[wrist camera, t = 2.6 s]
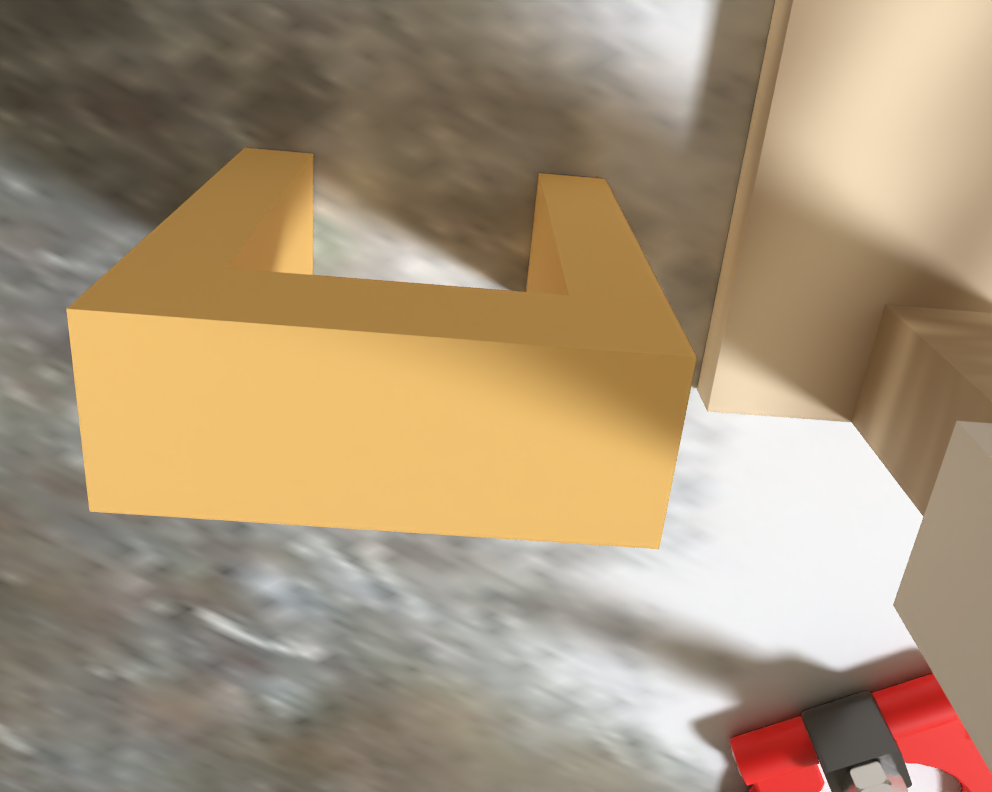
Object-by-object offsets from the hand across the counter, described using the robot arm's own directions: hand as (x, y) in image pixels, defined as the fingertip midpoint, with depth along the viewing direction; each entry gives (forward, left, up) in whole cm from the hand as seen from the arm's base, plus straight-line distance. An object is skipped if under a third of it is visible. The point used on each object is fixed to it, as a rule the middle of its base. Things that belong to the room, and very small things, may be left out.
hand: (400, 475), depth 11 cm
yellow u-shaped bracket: (0, 0, -11) cm, 11 cm away
